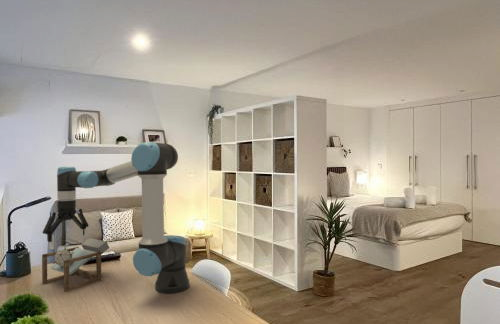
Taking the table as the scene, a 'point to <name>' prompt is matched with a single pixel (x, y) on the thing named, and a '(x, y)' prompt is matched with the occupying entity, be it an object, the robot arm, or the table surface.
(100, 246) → the chair seat
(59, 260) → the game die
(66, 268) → the frame
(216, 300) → the table surface
